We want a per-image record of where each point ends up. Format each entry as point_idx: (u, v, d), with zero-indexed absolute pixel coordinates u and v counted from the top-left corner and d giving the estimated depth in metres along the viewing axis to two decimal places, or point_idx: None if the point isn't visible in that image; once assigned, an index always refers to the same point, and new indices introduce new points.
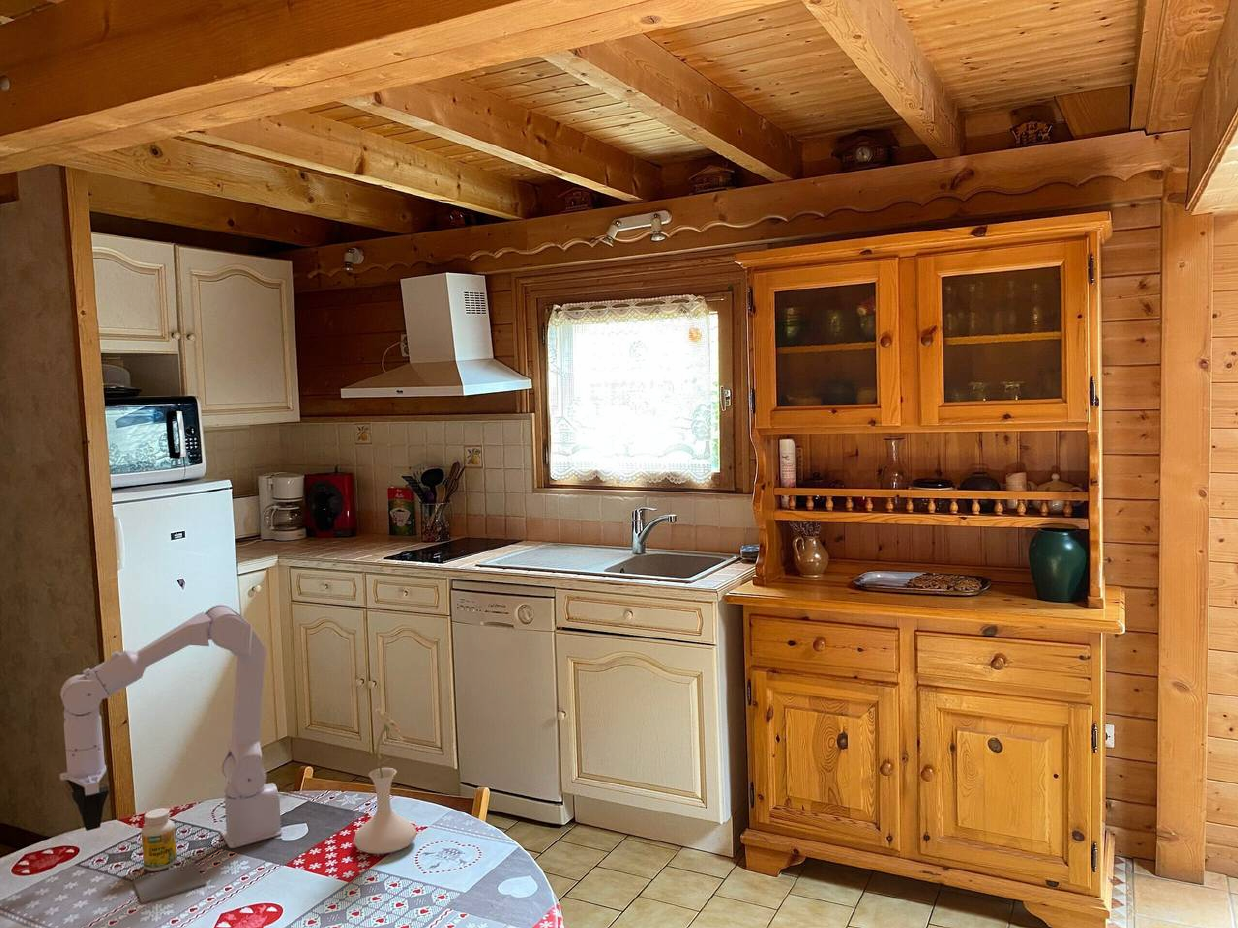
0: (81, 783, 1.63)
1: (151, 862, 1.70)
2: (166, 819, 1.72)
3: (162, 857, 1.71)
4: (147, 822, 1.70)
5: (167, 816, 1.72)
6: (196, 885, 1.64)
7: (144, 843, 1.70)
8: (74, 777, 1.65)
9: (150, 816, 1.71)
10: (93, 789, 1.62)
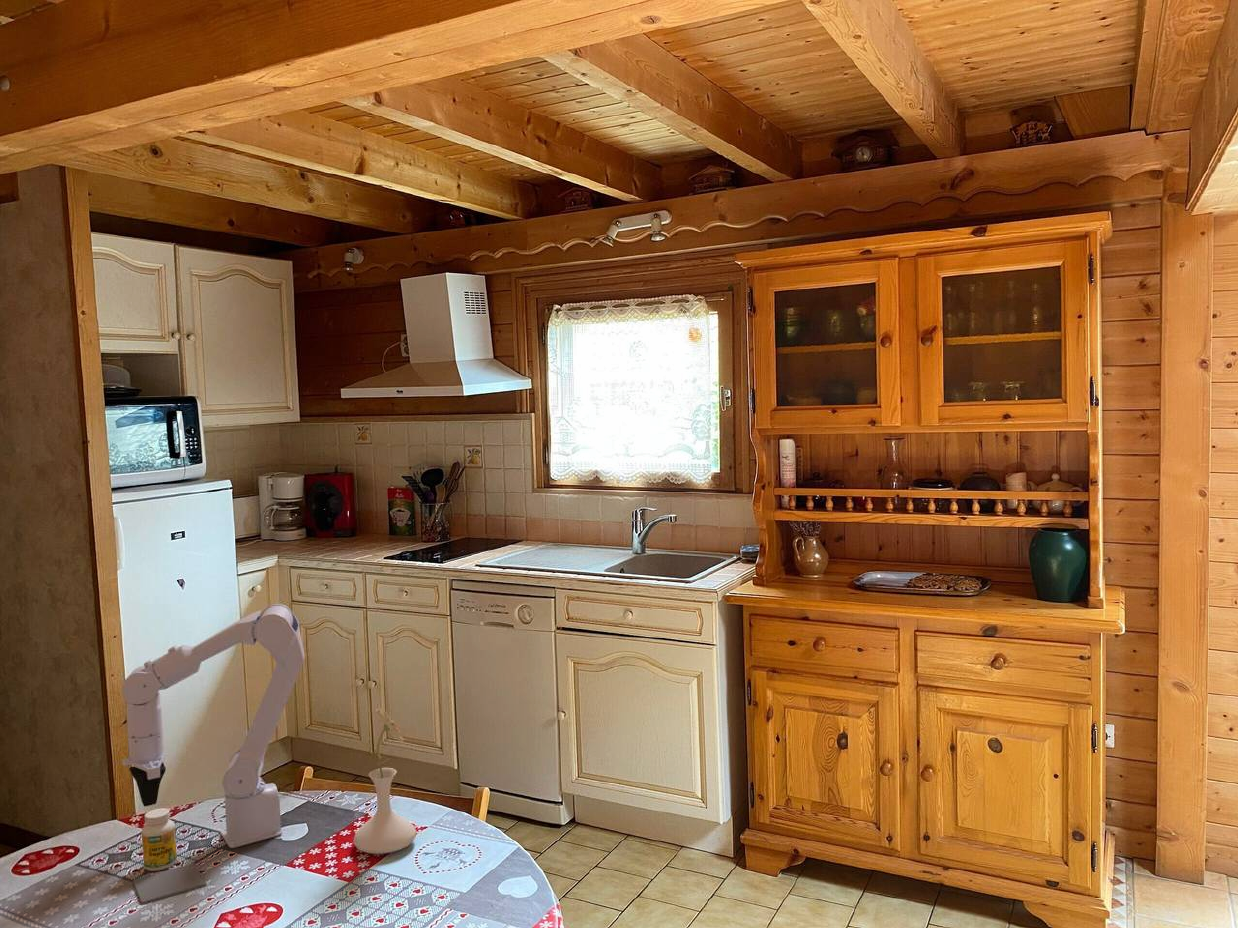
0: (143, 768, 1.73)
1: (151, 862, 1.70)
2: (166, 819, 1.72)
3: (162, 857, 1.71)
4: (147, 822, 1.70)
5: (167, 816, 1.72)
6: (196, 885, 1.64)
7: (144, 843, 1.70)
8: (136, 762, 1.75)
9: (150, 816, 1.71)
10: (155, 774, 1.72)
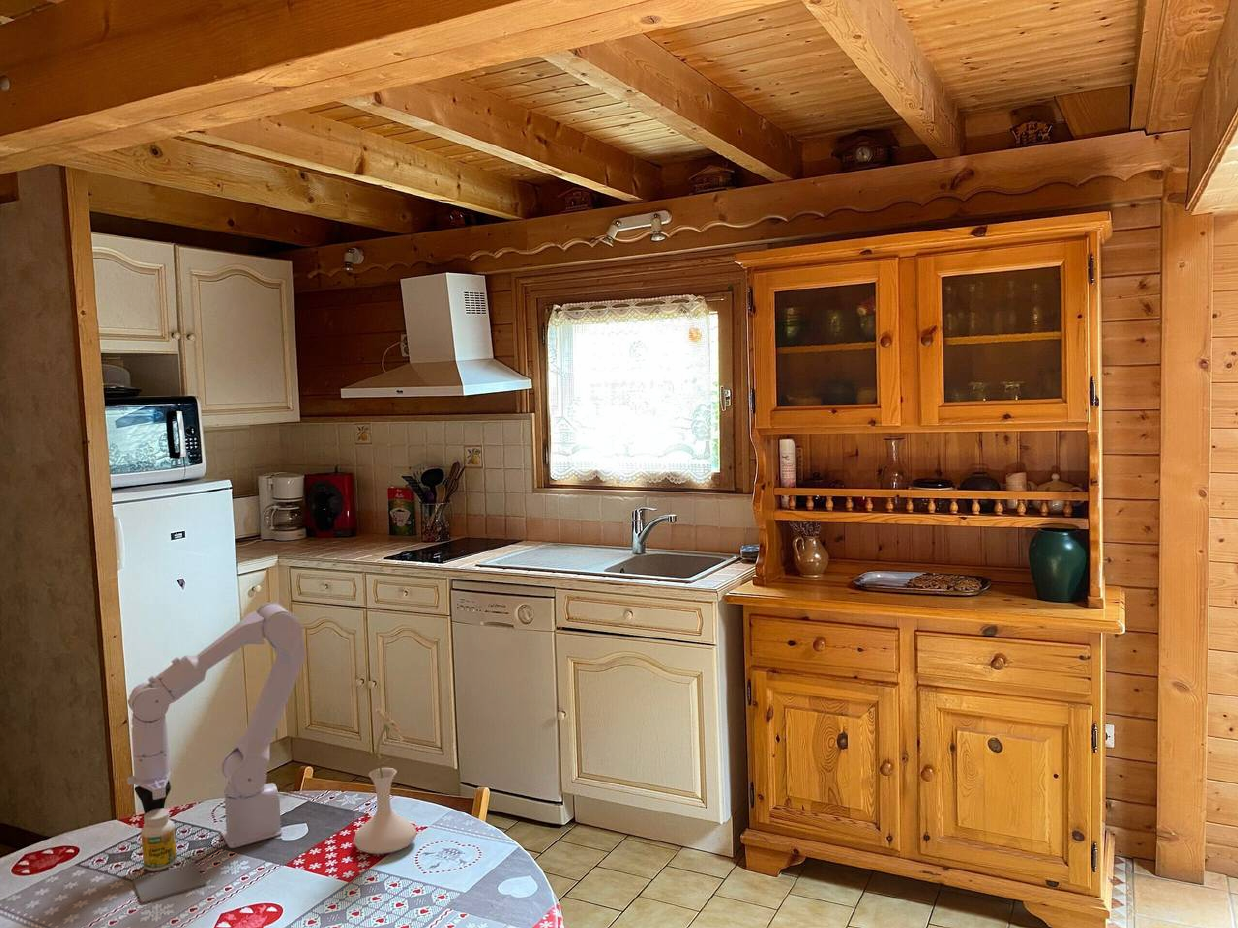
0: (149, 788, 1.69)
1: (151, 863, 1.70)
2: (166, 820, 1.71)
3: (162, 858, 1.70)
4: (147, 823, 1.70)
5: (167, 817, 1.71)
6: (196, 885, 1.64)
7: (144, 844, 1.70)
8: (141, 782, 1.70)
9: (150, 817, 1.70)
10: (160, 794, 1.68)
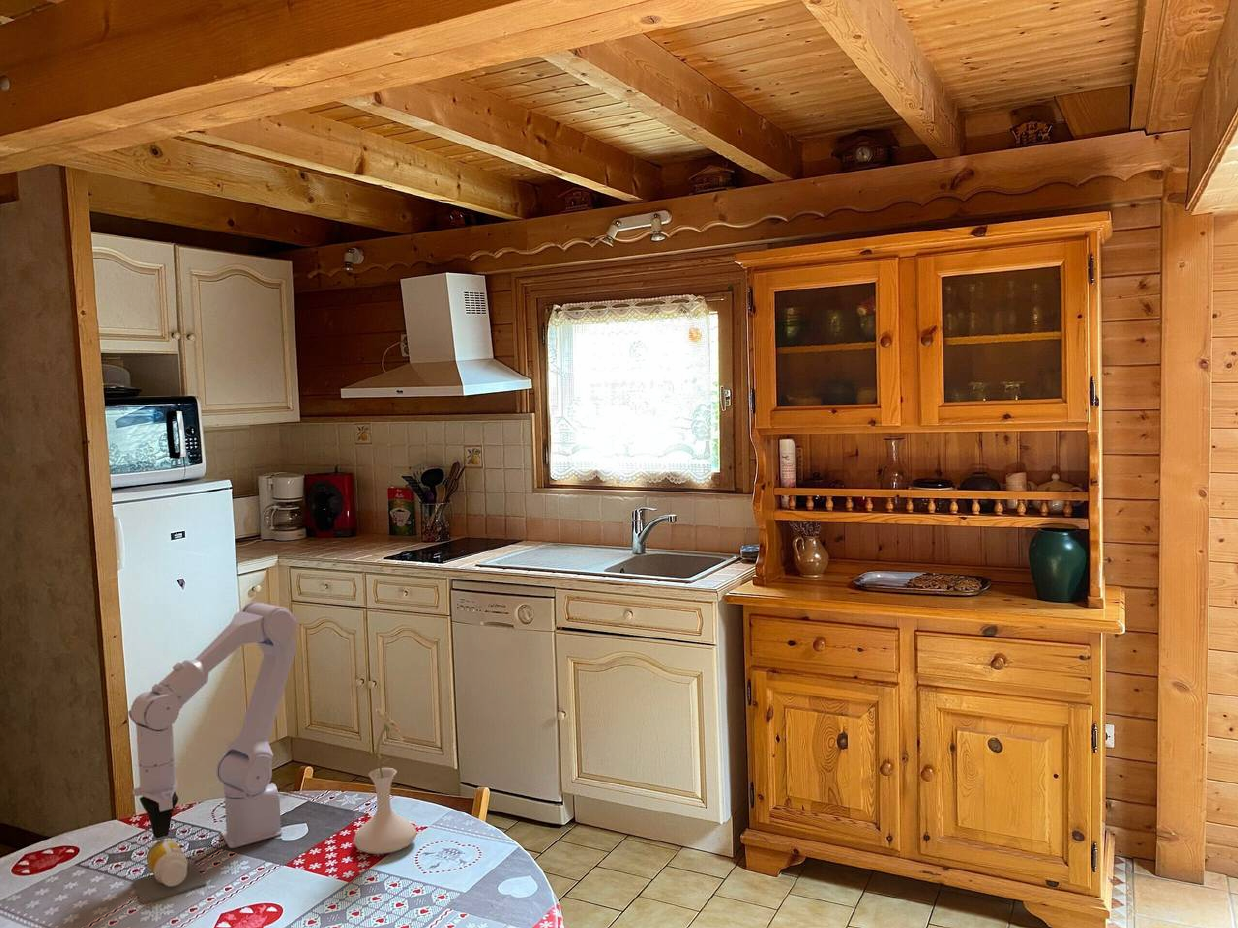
0: (155, 799, 1.64)
1: None
2: None
3: None
4: (162, 880, 1.63)
5: None
6: (196, 885, 1.64)
7: None
8: (147, 793, 1.66)
9: (167, 881, 1.62)
10: (167, 805, 1.64)
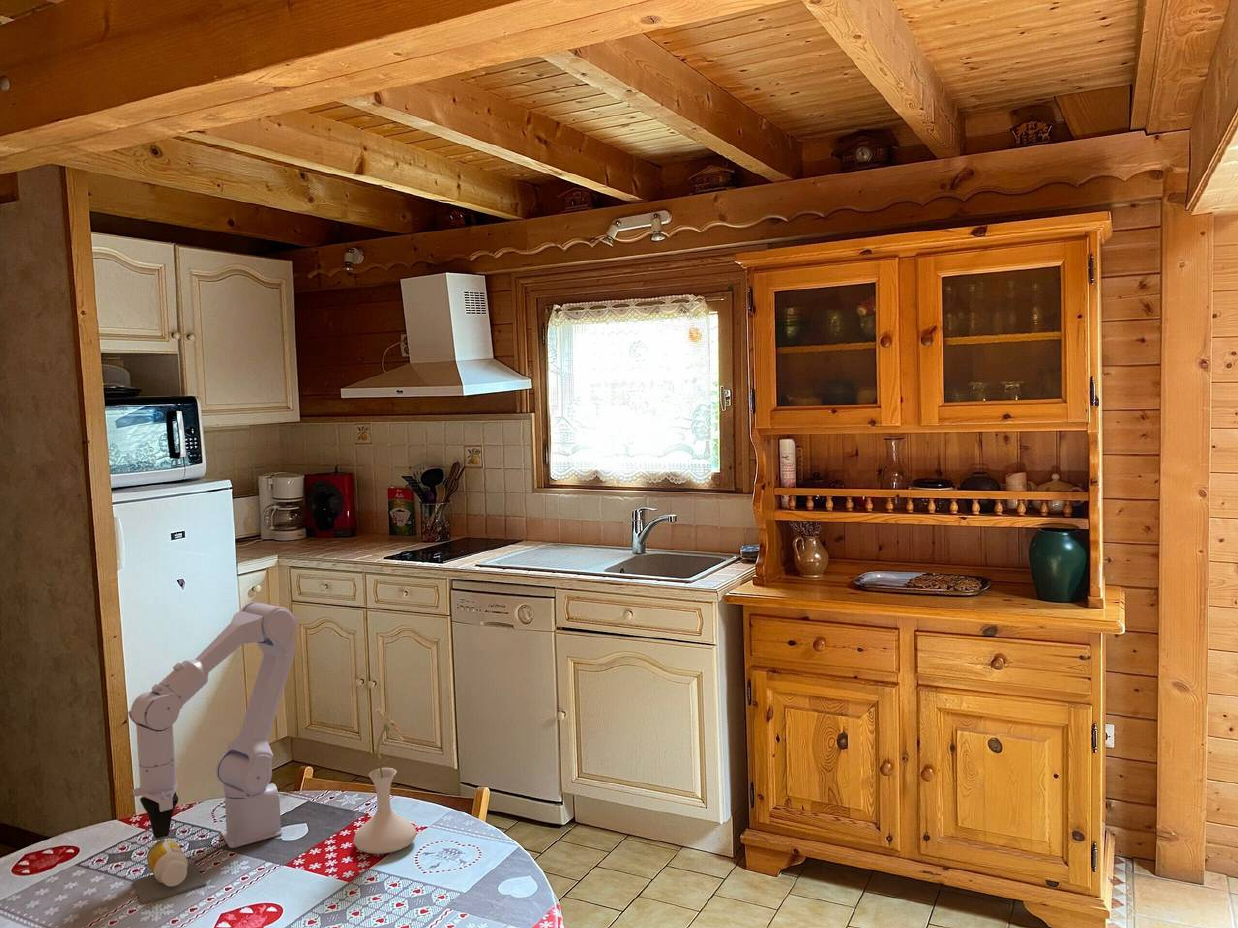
0: (155, 799, 1.64)
1: None
2: None
3: None
4: (162, 880, 1.63)
5: None
6: (196, 885, 1.64)
7: None
8: (147, 793, 1.66)
9: (167, 881, 1.62)
10: (167, 805, 1.63)
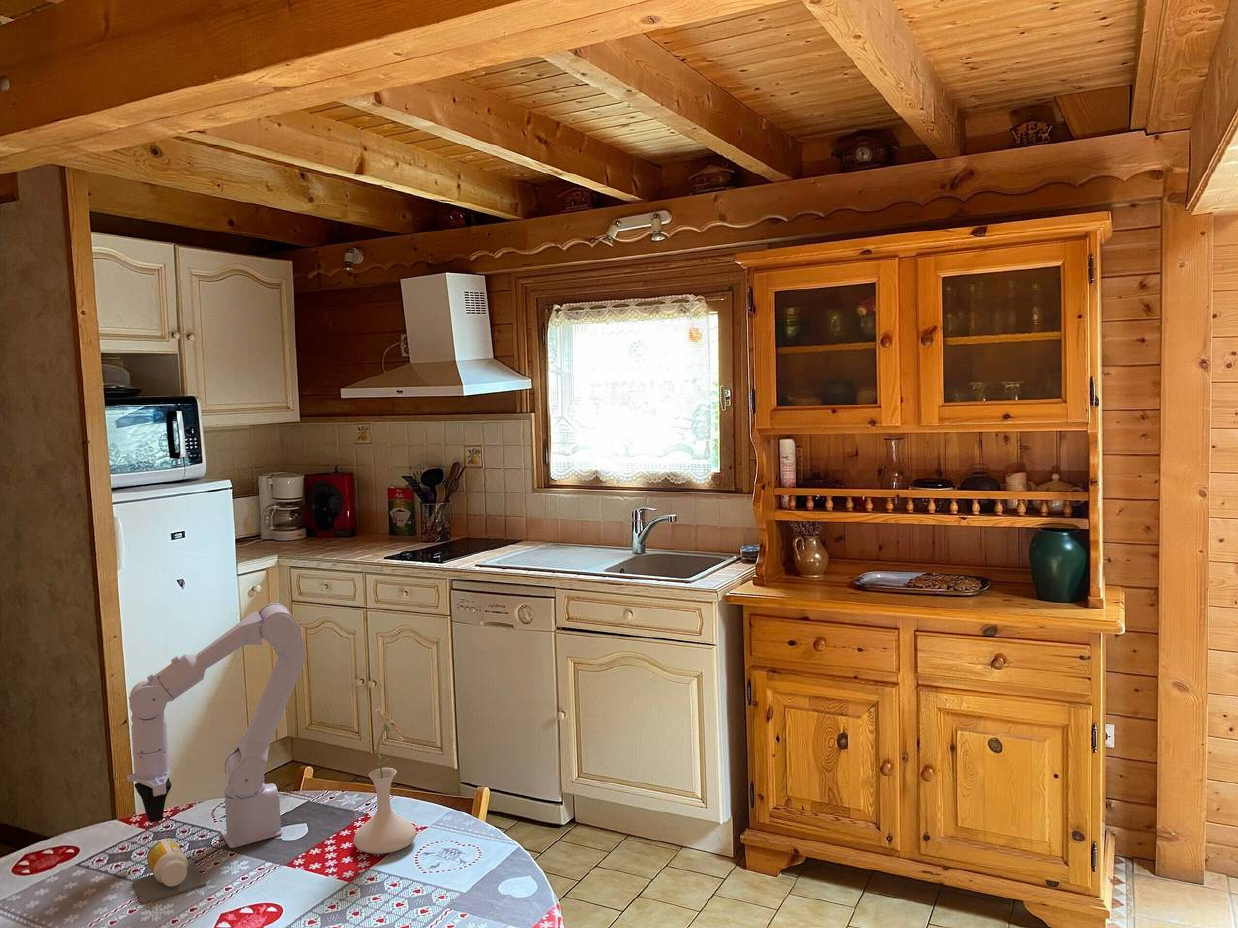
0: (149, 784, 1.70)
1: None
2: None
3: None
4: (162, 880, 1.63)
5: None
6: (196, 885, 1.64)
7: None
8: (141, 779, 1.72)
9: (167, 881, 1.62)
10: (161, 790, 1.69)
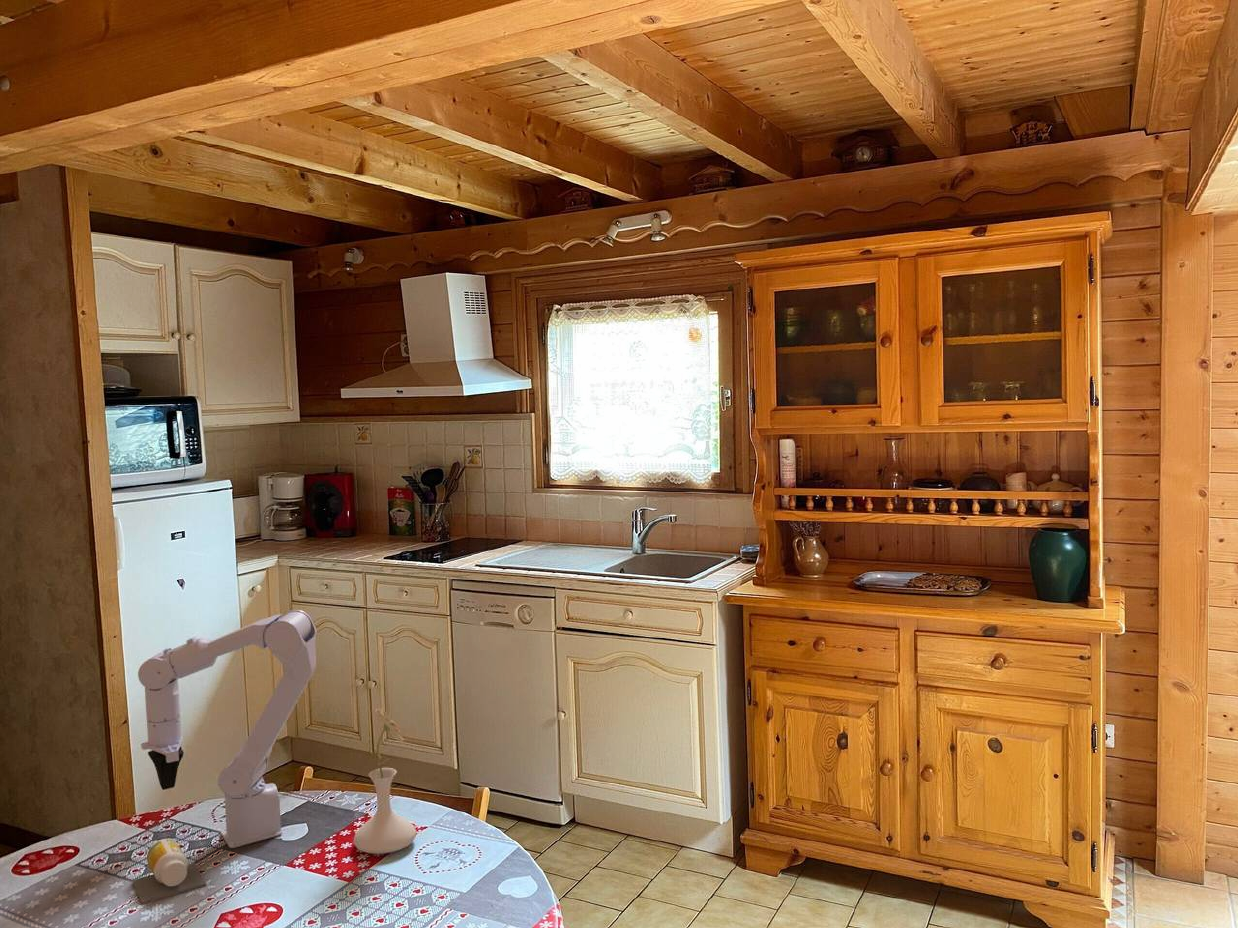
0: (162, 752, 1.77)
1: None
2: None
3: None
4: (162, 880, 1.63)
5: None
6: (196, 885, 1.64)
7: None
8: (155, 746, 1.78)
9: (167, 881, 1.62)
10: (173, 757, 1.76)
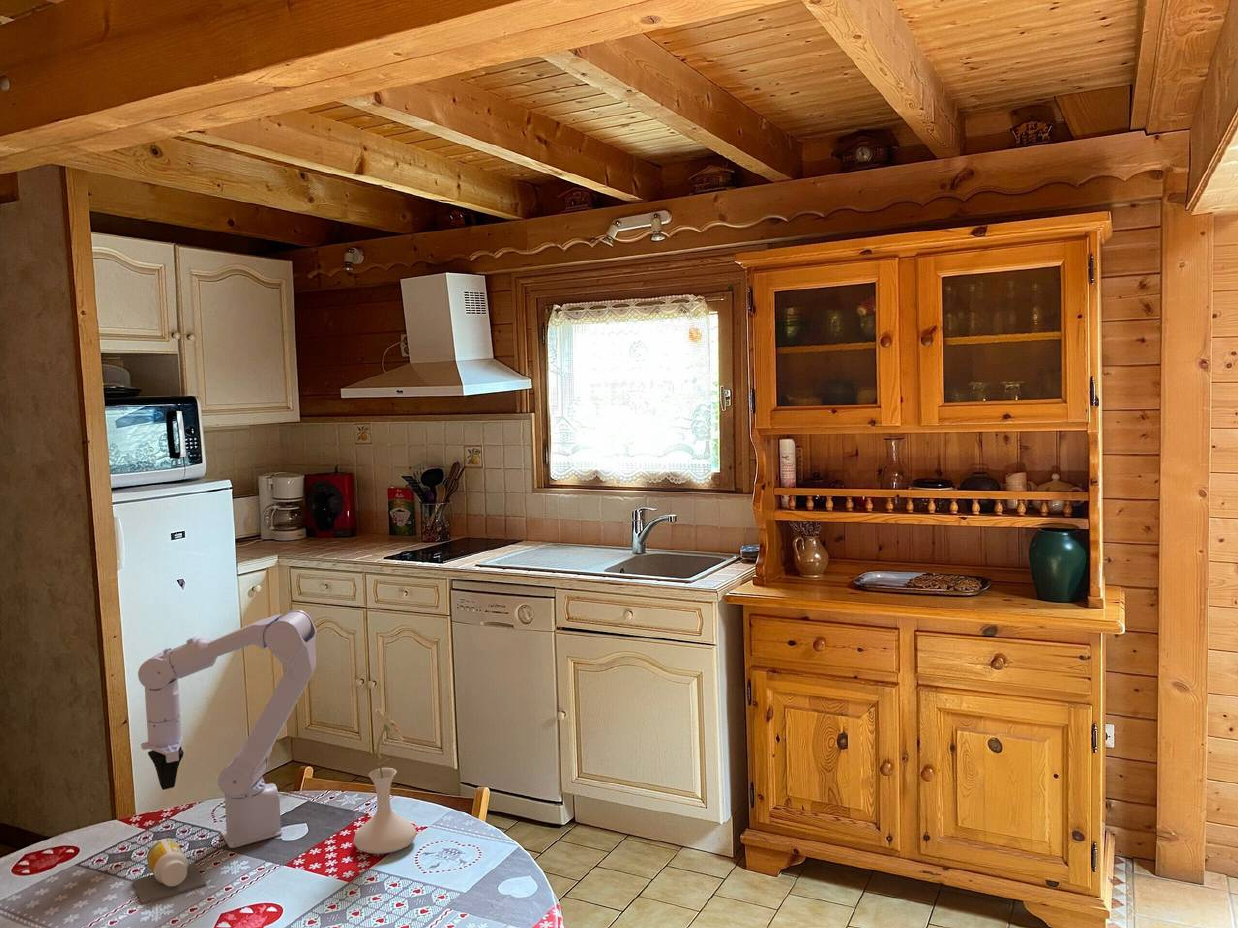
0: (162, 752, 1.77)
1: None
2: None
3: None
4: (162, 880, 1.63)
5: None
6: (196, 885, 1.64)
7: None
8: (155, 746, 1.78)
9: (167, 881, 1.62)
10: (173, 757, 1.76)
